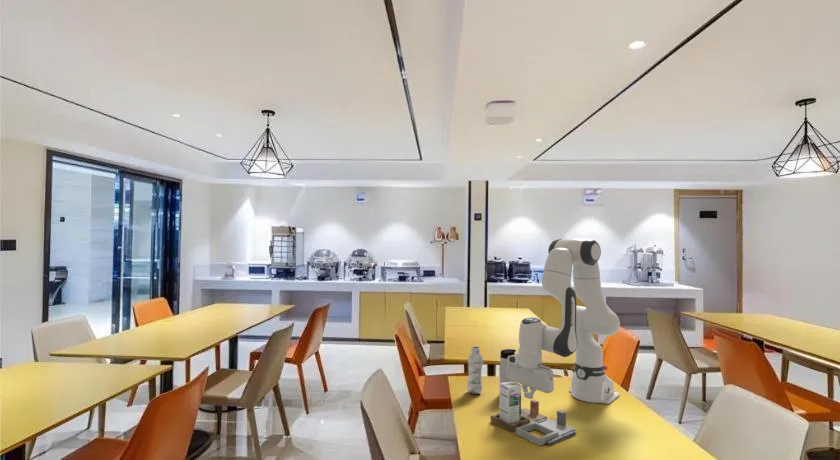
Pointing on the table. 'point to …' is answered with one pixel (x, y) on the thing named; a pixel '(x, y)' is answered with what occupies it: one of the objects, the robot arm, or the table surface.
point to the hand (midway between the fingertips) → (528, 397)
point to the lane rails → (559, 436)
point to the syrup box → (510, 402)
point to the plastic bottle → (475, 371)
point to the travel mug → (505, 364)
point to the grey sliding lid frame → (546, 429)
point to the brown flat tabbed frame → (526, 417)
